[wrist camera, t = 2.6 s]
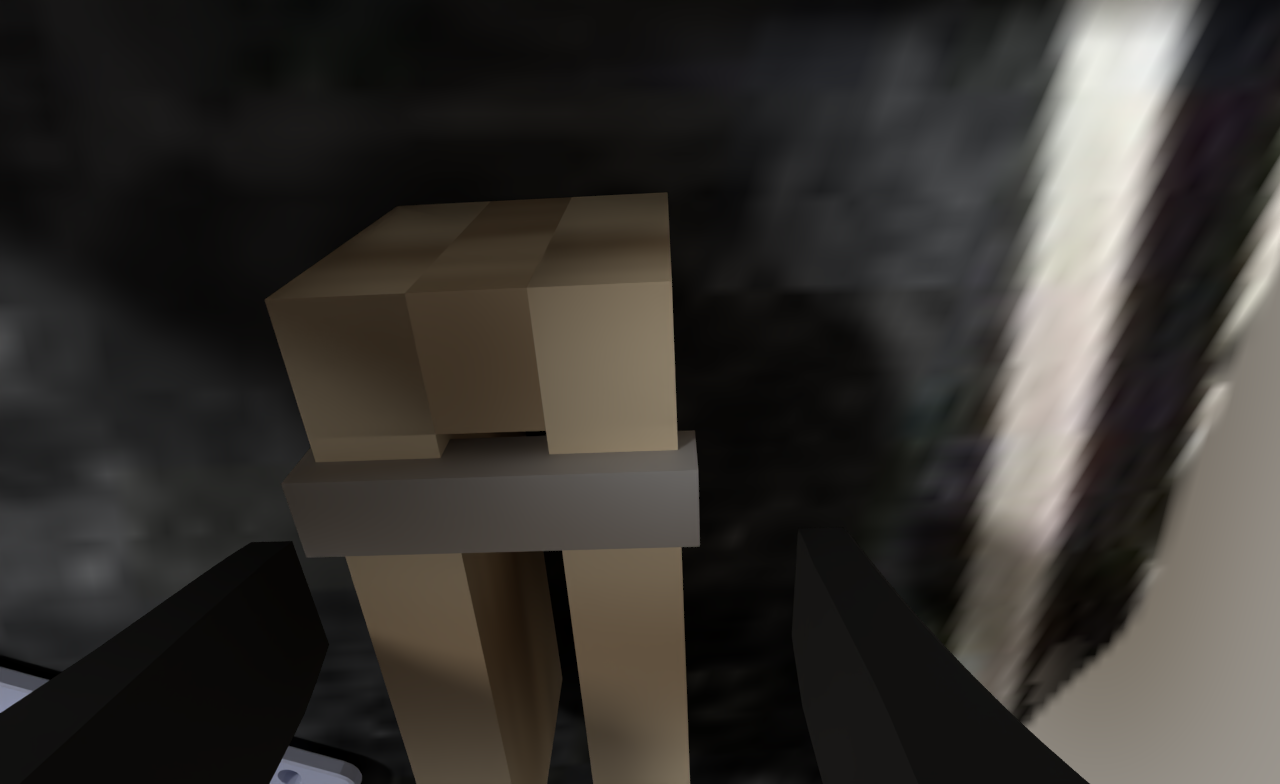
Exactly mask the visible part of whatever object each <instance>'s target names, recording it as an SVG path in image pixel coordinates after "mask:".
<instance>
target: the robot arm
mask: <svg viewBox="0 0 1280 784" xmlns="http://www.w3.org/2000/svg"><path fill="white" fill-rule="evenodd" d="M792 642H793V649H794V655H795V662H796V669H797V676H798V682H799V688H800V694H801V701H802V707H803V711H804V715H805V718H806V722H807V726H808V730H809V734H810V737H811V741H812V745H813V749H814V753H815V756H816V760H817V764H818V768H819V771H820V775H821V779H822V783H823V784H1089V783H1088V782H1087V781H1086V780H1085V779H1083V778H1082V777H1081V776H1080V775H1079V774H1078V773H1077V772H1075V771H1074V770H1073V769H1072V768H1071V767H1070V766H1069V765H1067V764H1066V763H1065V762H1064V761H1063V760H1062V759H1061V758H1059V757H1058V756H1057V755H1056V754H1055V753H1054V752H1052V751H1051V750H1050V749H1049V748H1048V747H1047V746H1046V745H1045V744H1044V743H1042V742H1041V741H1040V740H1039V739H1038V738H1037V737H1036V736H1035V735H1034V734H1033V733H1032V732H1030V731H1029V730H1028V729H1027V728H1026V727H1025V726H1024V725H1023V724H1022V723H1021V722H1020V721H1019V720H1018V719H1017V718H1016V717H1014V716H1013V715H1012V714H1011V713H1010V712H1009V711H1008V710H1007V709H1006V708H1005V707H1004V706H1003V705H1002V704H1001V703H1000V702H999V701H998V700H997V699H996V698H995V697H994V696H993V695H992V694H991V693H990V692H989V691H988V690H987V689H986V688H985V687H984V686H983V685H982V684H981V683H980V682H979V681H978V680H977V679H976V678H975V677H974V676H973V675H972V674H971V673H970V672H969V671H968V670H967V669H966V668H965V667H964V666H963V665H962V664H961V663H960V662H959V661H958V660H957V659H956V658H955V657H954V655H953V654H952V653H951V652H950V651H949V650H948V649H947V648H946V647H945V646H944V645H943V644H942V642H941V641H940V640H939V639H938V638H937V637H936V636H935V635H934V634H933V633H932V631H931V630H930V629H929V628H928V627H927V626H926V625H925V624H924V623H923V622H922V620H921V619H920V618H919V617H918V616H917V615H916V614H915V613H914V612H913V610H912V609H911V608H910V607H909V606H908V605H907V603H906V602H905V601H904V600H903V599H902V598H901V597H900V595H899V594H898V593H897V592H896V591H895V589H894V588H893V587H892V586H891V585H890V583H889V582H888V581H887V580H886V579H885V577H884V576H883V575H882V574H881V572H880V571H879V570H878V569H877V568H876V566H875V565H874V564H873V563H872V561H871V560H870V559H869V558H868V556H867V555H866V554H865V553H864V551H863V550H862V549H861V547H860V546H859V545H858V544H857V542H856V541H855V540H854V538H853V537H852V536H851V535H850V533H848V532H847V531H846V530H845V529H844V528H843V527H829V528H798V538H797V555H796V571H795V588H794V605H793V622H792ZM328 646H329V643H328V640H327V638H326V635H325V632H324V629H323V626H322V624H321V621H320V618H319V615H318V612H317V610H316V607H315V604H314V601H313V598H312V596H311V593H310V590H309V587H308V584H307V582H306V579H305V576H304V573H303V570H302V568H301V565H300V562H299V559H298V556H297V554H296V551H295V548H294V545H293V542H292V541H286V542H251V543H249V544H248V545H246V546H245V547H243V548H241V549H240V550H238V551H236V552H235V553H233V554H232V555H230V556H229V557H227V558H226V559H224V560H223V561H221V562H220V563H218V564H217V565H215V566H214V567H212V568H211V569H209V570H208V571H207V572H205V573H204V574H202V575H201V576H199V577H198V578H197V579H195V580H194V581H192V582H191V583H189V584H188V585H187V586H185V587H184V588H182V589H181V590H180V591H178V592H177V593H175V594H174V595H173V596H171V597H170V598H168V599H167V600H165V601H164V602H163V603H161V604H160V605H158V606H157V607H156V608H154V609H153V610H151V611H150V612H148V613H147V614H146V615H144V616H143V617H141V618H140V619H139V620H137V621H136V622H134V623H133V624H131V625H130V626H129V627H127V628H126V629H124V630H123V631H122V632H120V633H119V634H117V635H116V636H114V637H113V638H112V639H110V640H109V641H107V642H106V643H104V644H103V645H102V646H100V647H99V648H97V649H96V650H94V651H93V652H91V653H90V654H88V655H87V656H85V657H84V658H82V659H81V660H79V661H78V662H76V663H75V664H73V665H72V666H70V667H69V668H67V669H66V670H64V671H63V672H61V673H60V674H58V675H57V676H55V677H54V678H52V679H51V680H49V679H45V678H41V677H38V676H34V675H30V674H27V673H23V672H19V671H16V670H12V669H9V668H5V667H1V666H0V784H361V782H362V774H361V772H360V771H359V769H358V768H357V767H356V766H354V765H353V764H351V763H349V762H346V761H343V760H340V759H336V758H332V757H329V756H325V755H322V754H318V753H314V752H311V751H307V750H303V749H300V748H296V747H292V746H289V744H290V742H291V740H292V738H293V736H294V734H295V732H296V730H297V728H298V726H299V724H300V722H301V720H302V718H303V716H304V714H305V711H306V708H307V706H308V703H309V700H310V698H311V695H312V692H313V690H314V687H315V684H316V682H317V679H318V676H319V673H320V670H321V667H322V664H323V661H324V658H325V655H326V652H327V649H328Z"/></svg>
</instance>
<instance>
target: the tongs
mask: <svg viewBox="0 0 1280 784" xmlns="http://www.w3.org/2000/svg"><path fill="white" fill-rule="evenodd" d="M265 303H266V306H267V309H268V312H269V316H270V319H271V322H272V325H273V328H274V331H275V335H276V338H277V341H278V344H279V347H280V351H281V354H282V357H283V360H284V363H285V366H286V370H287V373H288V376H289V379H290V382H291V385H292V389H293V392H294V395H295V398H296V401H297V405H298V408H299V411H300V414H301V417H302V420H303V424H304V427H305V430H306V433H307V436H308V440H309V443H310V446H311V448H310V449H309V450H308V451H307V453H306V454H305V455H304V456H303V457H302V459H301V460H300V461H299V462H298V464H297V465H296V466H295V467H294V468H293V470H292V471H291V472H290V473H289V474H288V476H287V477H286V478H285V479H284V481H283V482H282V483H281V485H282V488H283V491H284V494H285V497H286V500H287V503H288V505H289V508H290V511H291V514H292V517H293V520H294V523H295V526H296V529H297V531H298V534H299V537H300V540H301V543H302V546H303V549H304V552H305V554H306V557H343V556H345V557H346V560H347V564H348V567H349V570H350V573H351V576H352V579H353V583H354V586H355V589H356V592H357V595H358V598H359V602H360V605H361V608H362V611H363V614H364V618H365V621H366V624H367V627H368V630H369V633H370V637H371V640H372V643H373V646H374V649H375V653H376V656H377V659H378V662H379V665H380V668H381V672H382V675H383V678H384V681H385V684H386V687H387V691H388V694H389V697H390V700H391V703H392V707H393V710H394V713H395V716H396V719H397V722H398V726H399V729H400V732H401V735H402V738H403V742H404V745H405V748H406V751H407V754H408V757H409V761H410V764H411V767H412V770H413V773H414V776H415V780H416V783H417V784H547V779H548V773H549V766H550V759H551V752H552V745H553V739H554V732H555V725H556V718H557V712H558V705H559V698H560V691H561V685H562V672H561V665H560V659H559V652H558V645H557V639H556V632H555V625H554V619H553V612H552V605H551V599H550V592H549V585H548V579H547V572H546V565H545V559H544V552H543V551H560V550H562V554H563V561H564V568H565V576H566V583H567V591H568V598H569V606H570V613H571V620H572V628H573V635H574V643H575V650H576V658H577V665H578V672H579V680H580V687H581V695H582V702H583V710H584V717H585V724H586V732H587V739H588V747H589V754H590V762H591V769H592V777H593V784H690V769H689V742H688V714H687V686H686V659H685V631H684V604H683V576H682V548H681V547H700V526H699V479H698V461H697V449H696V438H695V430H693V431H677V410H676V383H675V355H674V327H673V300H672V274H671V253H670V232H669V211H668V192H663V193H643V194H624V195H604V196H585V197H565V198H545V199H526V200H506V201H487V202H467V203H447V204H428V205H408V206H397V207H395V208H394V209H393V210H391V211H390V212H388V213H387V214H385V215H384V216H383V217H381V218H380V219H378V220H377V221H375V222H374V223H373V224H371V225H370V226H368V227H367V228H366V229H364V230H363V231H361V232H360V233H358V234H357V235H356V236H354V237H353V238H351V239H350V240H348V241H347V242H346V243H344V244H343V245H341V246H340V247H339V248H337V249H336V250H334V251H333V252H331V253H330V254H329V255H327V256H326V257H324V258H323V259H321V260H320V261H319V262H317V263H316V264H314V265H313V266H312V267H310V268H309V269H307V270H306V271H304V272H303V273H302V274H300V275H299V276H297V277H296V278H294V279H293V280H292V281H290V282H289V283H287V284H286V285H285V286H283V287H282V288H280V289H279V290H277V291H276V292H275V293H273V294H272V295H270V296H269V297H267V298H266V299H265ZM525 431H546V435H547V436H526V432H525Z"/></svg>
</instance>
